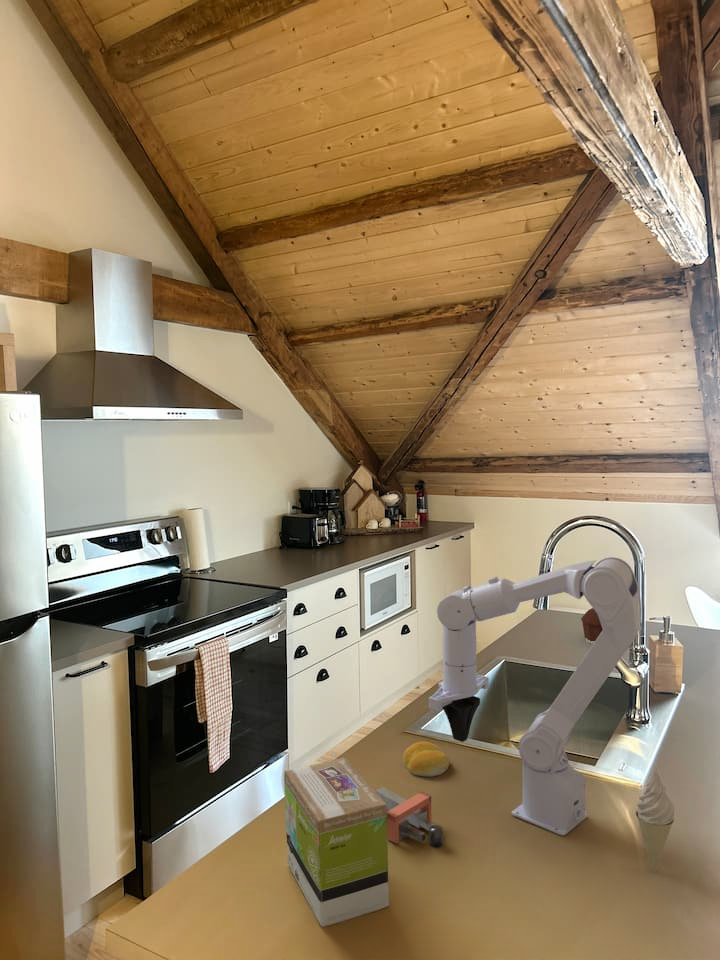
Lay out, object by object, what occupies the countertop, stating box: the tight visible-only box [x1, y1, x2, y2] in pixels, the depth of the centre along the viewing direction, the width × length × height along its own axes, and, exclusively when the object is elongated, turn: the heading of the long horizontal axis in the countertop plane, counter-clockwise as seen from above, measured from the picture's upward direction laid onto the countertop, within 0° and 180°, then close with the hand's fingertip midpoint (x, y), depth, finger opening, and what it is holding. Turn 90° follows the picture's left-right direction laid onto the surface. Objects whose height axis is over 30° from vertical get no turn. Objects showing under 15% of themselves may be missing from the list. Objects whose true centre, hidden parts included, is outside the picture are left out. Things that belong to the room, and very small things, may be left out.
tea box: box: [283, 757, 390, 928], centre depth 100 cm, size 15×10×15 cm, turn 23°
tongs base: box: [387, 810, 444, 849], centre depth 115 cm, size 16×4×2 cm, turn 46°
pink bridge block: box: [387, 791, 432, 844], centre depth 114 cm, size 2×9×4 cm, turn 136°
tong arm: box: [374, 786, 436, 832], centre depth 118 cm, size 14×2×2 cm, turn 39°
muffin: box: [580, 607, 603, 641], centre depth 211 cm, size 12×11×10 cm
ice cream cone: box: [635, 768, 675, 873], centre depth 102 cm, size 5×5×15 cm
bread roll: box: [402, 741, 450, 777], centre depth 136 cm, size 8×9×4 cm
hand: (460, 739), depth 124 cm, fingers closed
